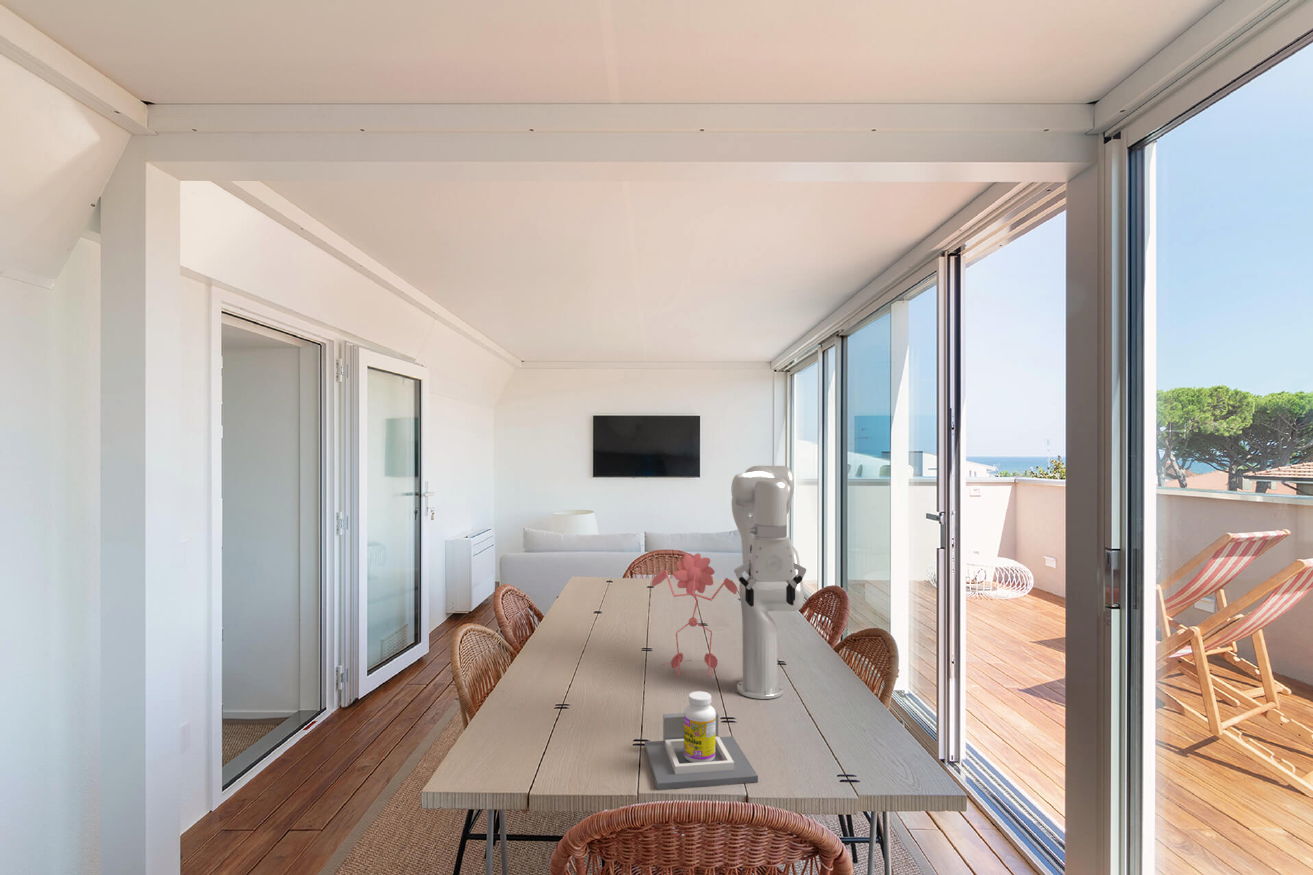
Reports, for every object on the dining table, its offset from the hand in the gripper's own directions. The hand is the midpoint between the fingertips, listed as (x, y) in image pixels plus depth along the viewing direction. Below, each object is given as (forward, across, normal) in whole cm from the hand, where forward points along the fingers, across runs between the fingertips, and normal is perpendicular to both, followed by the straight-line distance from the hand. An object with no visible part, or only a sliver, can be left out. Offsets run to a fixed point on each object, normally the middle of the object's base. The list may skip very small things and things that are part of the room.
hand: (770, 604), depth 148 cm
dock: (+29, -20, -15) cm, 38 cm away
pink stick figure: (+31, -10, +45) cm, 55 cm away
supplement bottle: (+28, -20, -14) cm, 37 cm away
